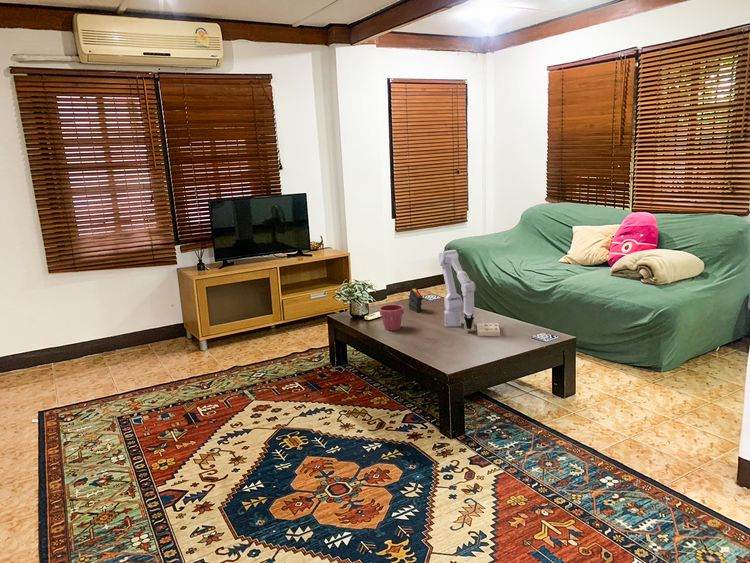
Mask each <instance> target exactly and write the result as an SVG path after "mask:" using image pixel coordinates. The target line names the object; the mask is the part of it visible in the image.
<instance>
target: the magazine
mask: <svg viewBox="0 0 750 563" xmlns="http://www.w3.org/2000/svg"><path fill="white" fill-rule="evenodd" d="M408 298H409V300H408V306H409V310H411V311H413V312H415V313H422V311H423V309H422V305H423V303H422V301H423V300H424V298H423V295H422V294H421V293H420V291H419V290H418V289H417V287H415V286H414V287H410V288H409V295H408Z"/></svg>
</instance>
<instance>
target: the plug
mask: <svg viewBox="0 0 750 563" xmlns="http://www.w3.org/2000/svg"><path fill="white" fill-rule="evenodd" d="M463 325H464V326H463V329H464V330H466V333H469V329H467V325H466V321H465V319H464V318H463ZM470 330H471V333H472V332H473V330H475V319H474V320H473V322H472V327H471V329H470Z"/></svg>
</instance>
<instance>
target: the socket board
mask: <svg viewBox="0 0 750 563" xmlns="http://www.w3.org/2000/svg"><path fill="white" fill-rule="evenodd" d="M500 330H501V329H500V325H499V323H498V322H485V323H483V322H482V323H481V322H480V323H478V322H477V323H476V331H477V336H478V337H500V336H501V331H500Z"/></svg>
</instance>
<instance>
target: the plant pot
mask: <svg viewBox="0 0 750 563" xmlns="http://www.w3.org/2000/svg"><path fill="white" fill-rule="evenodd" d="M404 311H405V309H404V306H403V305H402V304H385V305H382V306H380V307H379V315H380V316H381V318H382V319H381V320H382V323H383V327H384V329H385V330H386V331H397V330H400V329H401V326H402V325H401V324H402V319H403V315H404V313H405V312H404Z"/></svg>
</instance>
